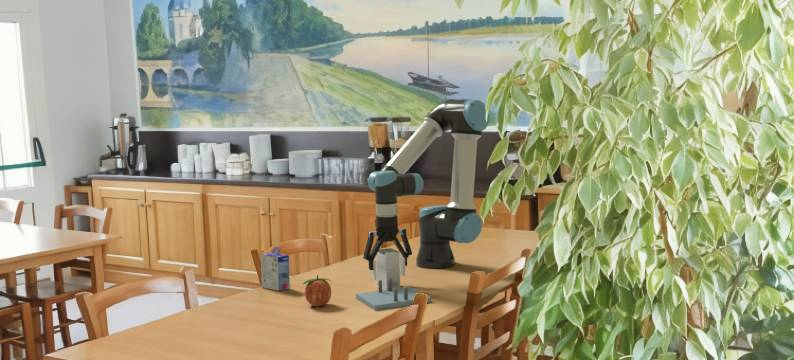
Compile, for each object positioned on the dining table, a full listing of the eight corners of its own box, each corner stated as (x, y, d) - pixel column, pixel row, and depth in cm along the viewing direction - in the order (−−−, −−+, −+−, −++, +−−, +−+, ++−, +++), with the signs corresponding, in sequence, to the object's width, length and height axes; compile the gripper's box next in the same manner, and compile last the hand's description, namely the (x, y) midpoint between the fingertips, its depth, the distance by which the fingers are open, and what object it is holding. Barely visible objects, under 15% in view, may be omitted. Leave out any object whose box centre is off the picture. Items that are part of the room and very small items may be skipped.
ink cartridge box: (291, 288, 298) (289, 248, 297) (279, 291, 294) (277, 251, 293) (273, 284, 305) (271, 245, 303) (261, 287, 301) (259, 247, 299)
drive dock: (410, 290, 290) (409, 275, 290) (431, 302, 275) (431, 285, 274) (355, 298, 282) (355, 282, 282) (374, 310, 267) (374, 293, 266)
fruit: (334, 307, 271) (332, 277, 270) (304, 310, 270) (303, 279, 268) (331, 301, 280) (330, 271, 278) (302, 303, 278) (301, 273, 277)
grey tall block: (390, 283, 302) (389, 247, 301) (400, 288, 294) (399, 251, 293) (377, 284, 300) (376, 249, 299) (386, 290, 292) (385, 253, 291)
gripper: (412, 210, 302) (413, 271, 305) (352, 216, 293) (354, 278, 296) (420, 213, 295) (422, 275, 298) (359, 219, 286) (361, 283, 289)
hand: (388, 277), depth 297 cm, fingers open, 10 cm apart
